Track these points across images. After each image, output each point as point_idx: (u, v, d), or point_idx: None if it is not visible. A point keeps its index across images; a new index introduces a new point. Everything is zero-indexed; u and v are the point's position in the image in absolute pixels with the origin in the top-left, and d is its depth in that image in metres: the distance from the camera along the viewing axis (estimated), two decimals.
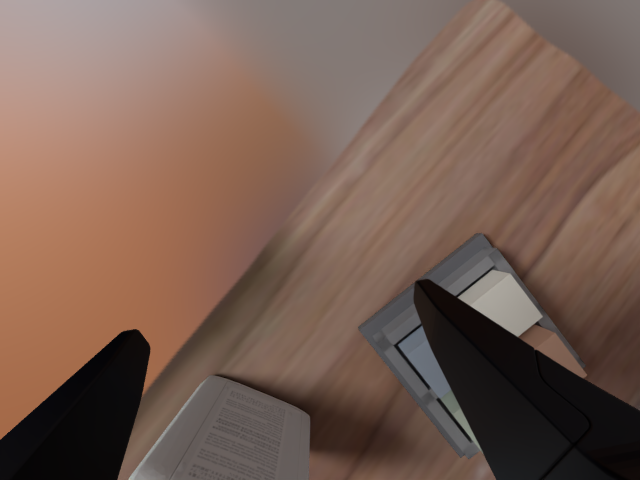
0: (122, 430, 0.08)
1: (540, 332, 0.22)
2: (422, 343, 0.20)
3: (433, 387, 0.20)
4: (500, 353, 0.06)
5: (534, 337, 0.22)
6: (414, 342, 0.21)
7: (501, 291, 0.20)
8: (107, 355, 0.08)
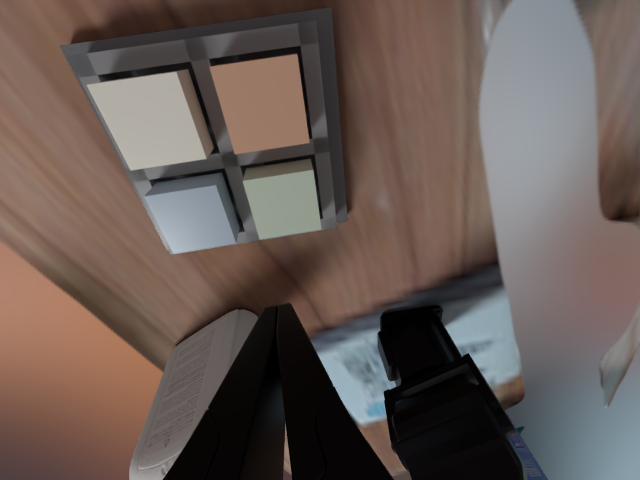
0: (283, 401, 0.08)
1: None
2: (164, 233, 0.17)
3: (220, 243, 0.18)
4: (297, 390, 0.06)
5: None
6: None
7: (116, 113, 0.13)
8: (266, 327, 0.08)
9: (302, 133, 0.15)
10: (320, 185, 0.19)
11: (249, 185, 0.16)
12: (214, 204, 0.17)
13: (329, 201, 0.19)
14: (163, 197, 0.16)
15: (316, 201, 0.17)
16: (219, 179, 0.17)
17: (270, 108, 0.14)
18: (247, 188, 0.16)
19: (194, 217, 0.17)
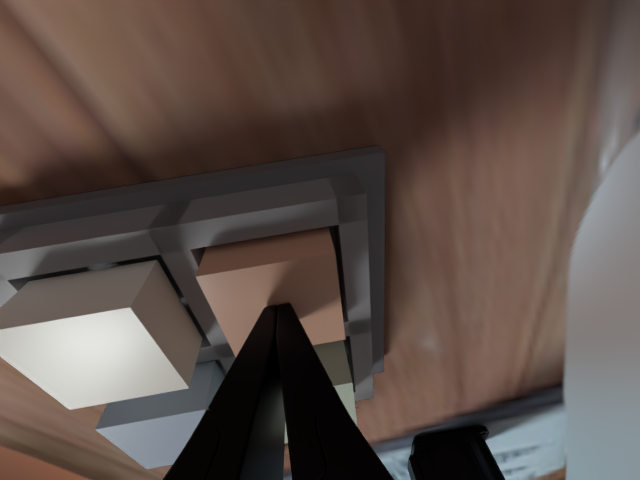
0: (283, 400, 0.08)
1: None
2: (131, 455, 0.12)
3: None
4: (297, 390, 0.06)
5: None
6: None
7: (32, 358, 0.08)
8: (266, 327, 0.08)
9: (335, 332, 0.10)
10: (355, 363, 0.13)
11: None
12: None
13: (365, 376, 0.14)
14: (126, 427, 0.11)
15: (353, 408, 0.12)
16: (211, 383, 0.11)
17: None
18: None
19: (174, 439, 0.11)
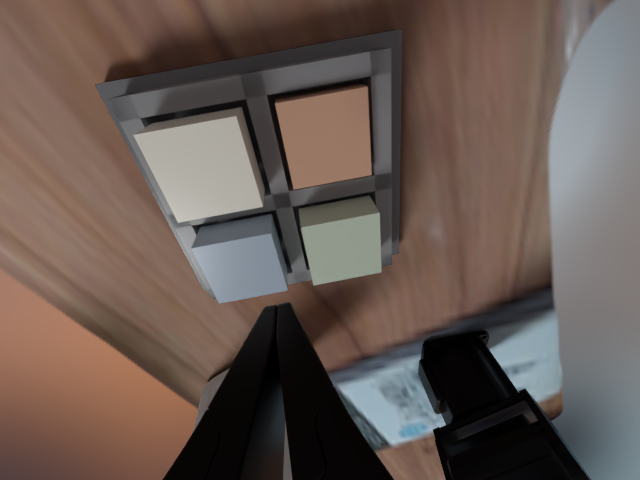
0: (283, 401, 0.08)
1: None
2: (210, 284, 0.16)
3: (270, 291, 0.16)
4: (297, 390, 0.06)
5: None
6: None
7: (165, 163, 0.12)
8: (266, 327, 0.08)
9: (364, 166, 0.14)
10: None
11: (307, 231, 0.14)
12: (267, 252, 0.15)
13: (386, 238, 0.17)
14: (212, 248, 0.14)
15: (379, 244, 0.15)
16: (271, 223, 0.15)
17: (334, 142, 0.13)
18: (305, 234, 0.14)
19: (244, 267, 0.15)
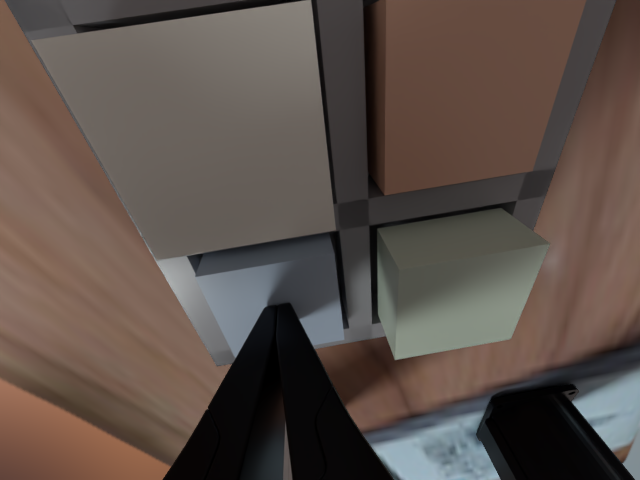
0: (283, 401, 0.08)
1: (373, 30, 0.06)
2: (224, 332, 0.10)
3: (317, 341, 0.10)
4: (297, 390, 0.06)
5: (374, 62, 0.07)
6: None
7: (123, 127, 0.05)
8: (266, 327, 0.08)
9: (526, 153, 0.07)
10: None
11: (409, 276, 0.07)
12: (323, 284, 0.09)
13: None
14: (232, 277, 0.08)
15: (526, 297, 0.09)
16: (329, 236, 0.09)
17: (486, 101, 0.06)
18: (403, 281, 0.08)
19: None
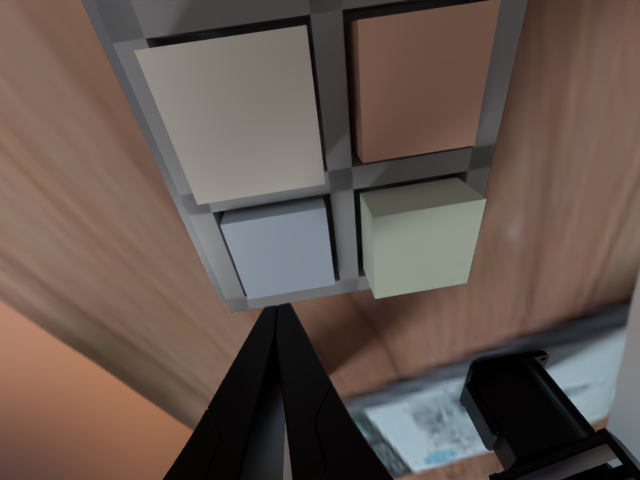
0: (283, 401, 0.08)
1: (352, 41, 0.09)
2: (240, 274, 0.12)
3: (313, 285, 0.13)
4: (297, 390, 0.06)
5: (353, 64, 0.09)
6: None
7: (184, 106, 0.07)
8: (266, 327, 0.08)
9: (468, 131, 0.10)
10: None
11: (381, 224, 0.10)
12: (317, 234, 0.11)
13: None
14: (248, 226, 0.11)
15: (474, 245, 0.11)
16: None
17: (434, 91, 0.09)
18: (377, 228, 0.10)
19: (285, 252, 0.12)
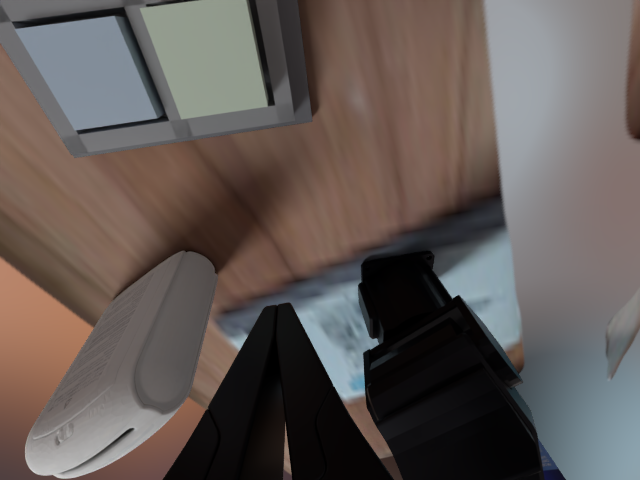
0: (283, 401, 0.08)
1: None
2: (56, 97, 0.13)
3: (136, 117, 0.14)
4: (297, 390, 0.06)
5: None
6: None
7: None
8: (266, 327, 0.08)
9: None
10: (266, 47, 0.13)
11: (151, 18, 0.11)
12: (117, 50, 0.12)
13: (281, 75, 0.14)
14: (43, 33, 0.12)
15: (255, 55, 0.12)
16: (125, 19, 0.13)
17: None
18: (148, 22, 0.11)
19: (93, 71, 0.13)
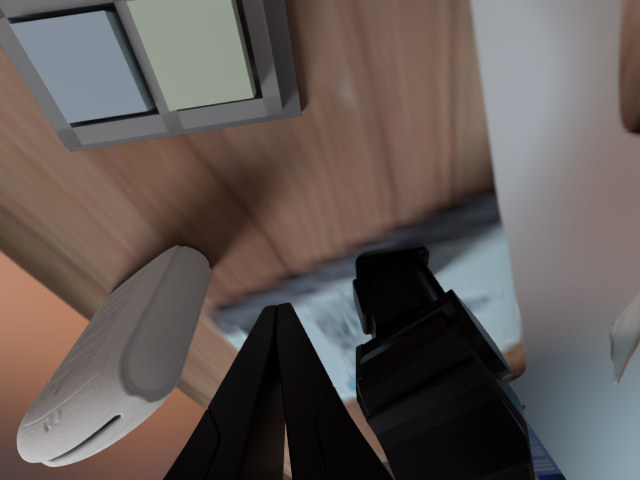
0: (283, 401, 0.08)
1: None
2: (50, 90, 0.14)
3: (126, 110, 0.14)
4: (297, 390, 0.06)
5: None
6: None
7: None
8: (266, 327, 0.08)
9: None
10: (253, 40, 0.14)
11: (138, 11, 0.11)
12: (108, 44, 0.13)
13: (268, 68, 0.14)
14: (36, 28, 0.12)
15: (240, 46, 0.12)
16: (116, 15, 0.13)
17: None
18: (135, 15, 0.11)
19: (84, 65, 0.13)
